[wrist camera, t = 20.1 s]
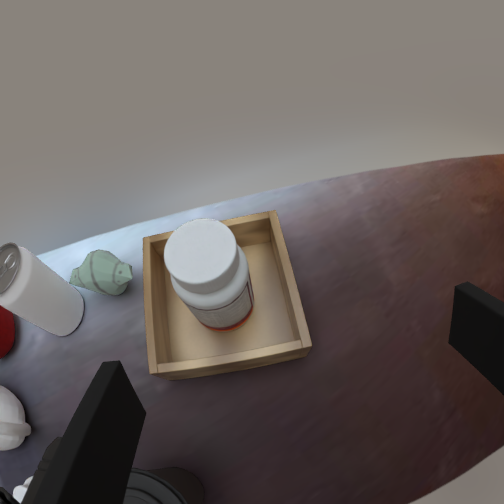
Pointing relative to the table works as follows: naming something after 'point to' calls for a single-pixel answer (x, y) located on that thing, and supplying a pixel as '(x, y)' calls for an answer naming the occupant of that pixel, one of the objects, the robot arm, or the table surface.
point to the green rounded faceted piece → (102, 273)
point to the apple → (6, 331)
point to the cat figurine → (11, 421)
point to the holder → (243, 338)
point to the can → (37, 292)
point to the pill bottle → (210, 274)
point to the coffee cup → (163, 487)
